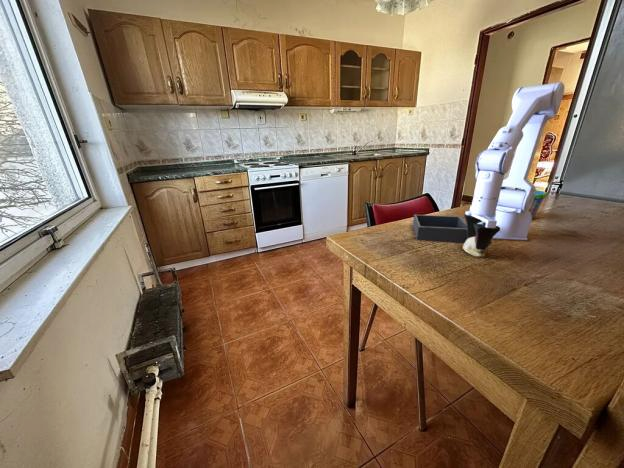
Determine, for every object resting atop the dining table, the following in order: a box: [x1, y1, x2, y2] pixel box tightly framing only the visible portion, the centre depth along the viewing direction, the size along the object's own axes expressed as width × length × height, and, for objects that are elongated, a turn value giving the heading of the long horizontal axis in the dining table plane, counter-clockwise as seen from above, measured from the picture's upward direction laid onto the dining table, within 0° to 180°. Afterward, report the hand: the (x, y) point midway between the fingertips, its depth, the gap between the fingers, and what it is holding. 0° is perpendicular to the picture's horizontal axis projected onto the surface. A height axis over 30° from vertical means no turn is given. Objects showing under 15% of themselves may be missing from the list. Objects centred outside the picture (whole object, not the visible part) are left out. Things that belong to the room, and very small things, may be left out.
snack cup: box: [515, 188, 547, 219], centre depth 101 cm, size 16×10×10 cm
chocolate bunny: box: [462, 222, 494, 258], centre depth 73 cm, size 6×8×10 cm
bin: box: [412, 214, 468, 244], centre depth 88 cm, size 16×14×5 cm
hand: (475, 243), depth 73 cm, fingers closed on chocolate bunny, 7 cm apart
